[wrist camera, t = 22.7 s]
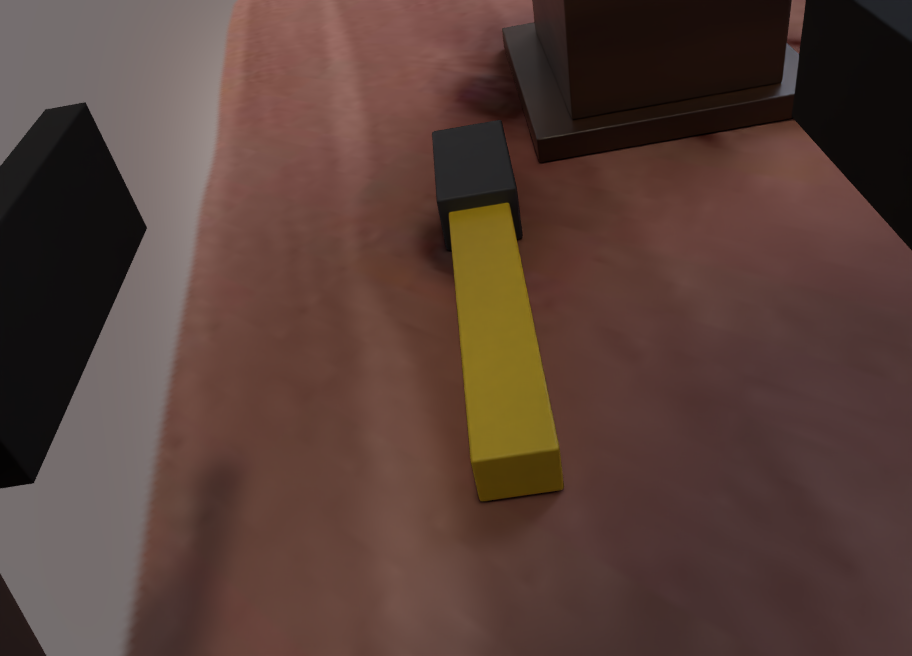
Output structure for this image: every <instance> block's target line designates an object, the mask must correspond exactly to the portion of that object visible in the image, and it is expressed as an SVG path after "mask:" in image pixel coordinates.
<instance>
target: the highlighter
mask: <svg viewBox="0 0 912 656" xmlns="http://www.w3.org/2000/svg"><path fill="white" fill-rule="evenodd" d="M432 140H433V154H434V168H435V183H436V197H437V205H438V210H439V215H440V220H441V225H442V230H443V235H444V240H445V245H446V248H447V250H452V258H453V269H454V281H455V292H456V303H457V314H458V325H459V337H460V348H461V359H462V370H463V381H464V393H465V404H466V415H467V426H468V437H469V449H470V460H471V465H472V470H473V474H474V479H475V483H476V487H477V492H478V496H479V499H480V501H489V500H496V499H503V498H510V497H516V496H523V495H530V494H537V493H544V492H551V491H558V490H562V489H563V488H564V483H563V474H562V465H561V457H560V448H559V443H558V438H557V433H556V428H555V424H554V419H553V414H552V409H551V404H550V399H549V394H548V389H547V385H546V380H545V375H544V370H543V365H542V360H541V355H540V350H539V346H538V341H537V336H536V331H535V326H534V321H533V316H532V311H531V307H530V302H529V297H528V292H527V287H526V282H525V277H524V272H523V268H522V263H521V258H520V253H519V248H518V243H517V239H519V238H522V236H523V234H522V226H521V218H520V210H519V202H518V194H517V187H516V183H515V178H514V174H513V169H512V165H511V160H510V156H509V152H508V147H507V143H506V138H505V134H504V129H503V125H502V121H501V120H497V121H491V122H485V123H479V124H473V125H468V126H462V127H456V128H450V129H445V130H439V131H434V132H432Z"/></svg>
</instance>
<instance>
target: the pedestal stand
mask: <svg viewBox="0 0 912 656" xmlns="http://www.w3.org/2000/svg"><path fill="white" fill-rule="evenodd" d="M532 1H533V12H534V23H529V24H523V25H518V26H512V27H507V28H503V29H502V33H503V42H504V48H505V51H506V55H507V58H508V61H509V65H510V68H511V71H512V74H513V78H514V81H515V84H516V88H517V91H518V94H519V97H520V101H521V104H522V107H523V111H524V114H525V117H526V120H527V124H528V127H529V130H530V133H531V137H532V140H533V143H534V147H535V150H536V153H537V156H538V160H539V162H545V161H551V160H556V159H562V158H568V157H573V156H579V155H585V154H591V153H596V152H602V151H608V150H613V149H619V148H625V147H630V146H636V145H642V144H648V143H653V142H659V141H665V140H670V139H676V138H682V137H688V136H693V135H699V134H705V133H710V132H716V131H722V130H727V129H733V128H739V127H745V126H750V125H756V124H762V123H767V122H773V121H779V120H784V119H790V118H793V117H792V109H793V101H794V93H795V85H796V77H797V69H798V61H799V54H798V53H797V52H796V51H795V50H794V49H793V48H792V47H791V46H789V45H788V44H787V36H788V27H789V18H790V9H791V0H532Z"/></svg>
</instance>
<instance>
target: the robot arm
mask: <svg viewBox="0 0 912 656" xmlns="http://www.w3.org/2000/svg"><path fill="white" fill-rule="evenodd" d="M792 117H793V118H794V120H795V121H796V122H797V123H798V124H799V125H800V126H801V127H802V128H803V130H804V131H805V132H806V133H807V134H808V135H809V136H810V137H811V139H812V140H813V141H814V142H815V143H816V144H817V145H818V146H819V147H820V149H821V150H822V151H823V152H824V153H825V154H826V155H827V156H828V157H829V159H830V160H831V161H832V162H833V163H834V164H835V165H836V166H837V168H838V169H839V170H840V171H841V172H842V173H843V174H844V175H845V176H846V178H847V179H848V180H849V181H850V182H851V183H852V184H853V185H854V187H855V188H856V189H857V190H858V191H859V192H860V193H861V194H862V195H863V197H864V198H865V199H866V200H867V201H868V202H869V203H870V204H871V205H872V207H873V208H874V209H875V210H876V211H877V212H878V213H879V214H880V216H881V217H882V218H883V219H884V220H885V221H886V222H887V223H888V224H889V226H890V227H891V228H892V229H893V230H894V231H895V232H896V233H897V234H898V236H899V237H900V238H901V239H902V240H903V241H904V242H905V243H906V245H907V246H908V247H909V248H910V249H911V250H912V0H806V5H805V13H804V21H803V29H802V37H801V45H800V53H799V61H798V69H797V77H796V85H795V93H794V101H793V109H792ZM146 229H147V227H146V225H145V223H144V221H143V219H142V217H141V215H140V213H139V211H138V209H137V207H136V205H135V202H134V200H133V198H132V196H131V195H130V192H129V190H128V188H127V186H126V184H125V182H124V180H123V178H122V176H121V174H120V172H119V170H118V168H117V166H116V164H115V162H114V160H113V158H112V156H111V154H110V152H109V149H108V147H107V146H106V143H105V141H104V140H103V137H102V135H101V133H100V131H99V129H98V127H97V125H96V123H95V121H94V119H93V117H92V115H91V113H90V111H89V109H88V107H87V105H86V103H79V104H74V105H68V106H63V107H57V108H52V109H46V110H45V111H44V112H43V113H42V115H41V116H40V117H39V118H38V120H37V121H36V122H35V123H34V125H33V126H32V127H31V128H30V130H29V131H28V132H27V133H26V135H25V136H24V137H23V138H22V140H21V141H20V142H19V143H18V145H17V146H16V147H15V149H14V150H13V151H12V152H11V153H10V155H9V156H8V157H7V159H6V160H5V161H4V162H3V164H2V165H1V166H0V488H6V487H12V486H19V485H25V484H32V483H34V481H35V479H36V477H37V475H38V472H39V470H40V468H41V466H42V463H43V461H44V459H45V457H46V454H47V452H48V450H49V448H50V445H51V443H52V441H53V438H54V436H55V434H56V432H57V430H58V427H59V425H60V423H61V421H62V418H63V416H64V414H65V412H66V409H67V407H68V405H69V403H70V400H71V398H72V396H73V394H74V391H75V389H76V387H77V385H78V382H79V380H80V378H81V375H82V373H83V371H84V369H85V366H86V364H87V362H88V359H89V357H90V355H91V353H92V351H93V348H94V346H95V344H96V342H97V339H98V337H99V335H100V333H101V330H102V328H103V326H104V324H105V321H106V319H107V317H108V315H109V312H110V310H111V308H112V306H113V303H114V301H115V299H116V297H117V294H118V292H119V290H120V288H121V285H122V283H123V281H124V279H125V276H126V274H127V272H128V269H129V267H130V265H131V263H132V261H133V258H134V256H135V253H136V252H137V249H138V247H139V245H140V242H141V240H142V238H143V236H144V233H145V231H146ZM0 656H46V654H45V653H44V651H43V649H42V647H41V645H40V644H39V642H38V640H37V638H36V637H35V635H34V633H33V631H32V629H31V628H30V626H29V624H28V622H27V621H26V619H25V617H24V615H23V613H22V612H21V610H20V608H19V606H18V604H17V603H16V601H15V599H14V597H13V595H12V594H11V592H10V590H9V588H8V587H7V585H6V583H5V581H4V579H3V578H2V576H1V574H0Z"/></svg>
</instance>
